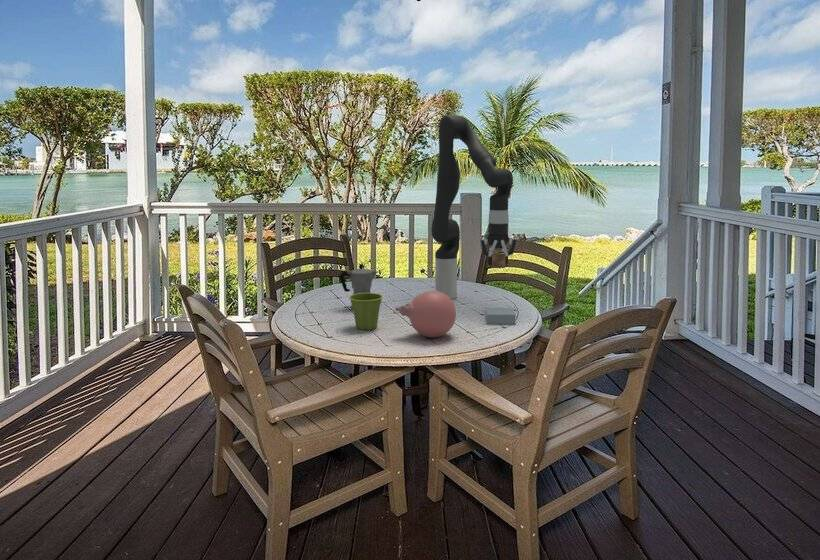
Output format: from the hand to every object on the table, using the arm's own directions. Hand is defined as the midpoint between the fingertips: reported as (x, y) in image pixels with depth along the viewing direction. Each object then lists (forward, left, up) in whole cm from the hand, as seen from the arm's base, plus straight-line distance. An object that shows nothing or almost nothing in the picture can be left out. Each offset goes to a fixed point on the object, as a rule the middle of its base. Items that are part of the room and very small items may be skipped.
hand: (497, 265), depth 228 cm
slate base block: (-2, -18, -18) cm, 25 cm away
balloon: (-30, -36, -17) cm, 50 cm away
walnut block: (0, 0, 0) cm, 0 cm away
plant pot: (-50, -24, -17) cm, 58 cm away
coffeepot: (-54, +4, -17) cm, 57 cm away
